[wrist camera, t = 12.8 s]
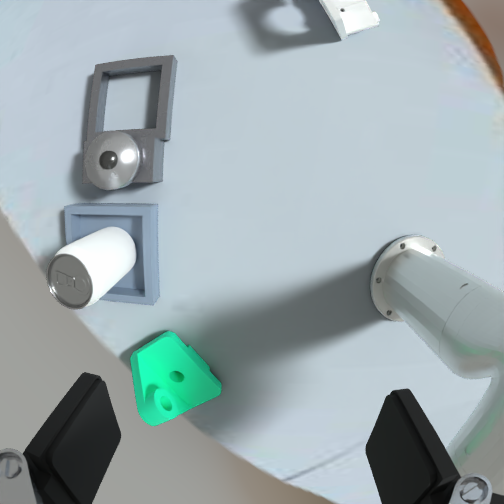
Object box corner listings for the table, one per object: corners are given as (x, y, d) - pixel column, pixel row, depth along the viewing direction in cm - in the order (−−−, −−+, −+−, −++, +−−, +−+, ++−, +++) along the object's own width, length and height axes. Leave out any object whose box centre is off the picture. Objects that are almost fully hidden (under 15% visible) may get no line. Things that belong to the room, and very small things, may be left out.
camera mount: (225, 382, 43) (220, 431, 33) (187, 400, 44) (176, 447, 34) (172, 324, 40) (153, 368, 30) (135, 348, 41) (111, 391, 31)
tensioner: (177, 61, 31) (164, 42, 25) (167, 186, 35) (152, 190, 29) (102, 69, 31) (80, 55, 24) (92, 187, 35) (67, 191, 28)
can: (135, 278, 37) (96, 320, 26) (93, 269, 37) (44, 304, 25) (140, 230, 36) (97, 256, 24) (95, 221, 35) (42, 243, 24)
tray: (157, 204, 36) (150, 206, 33) (159, 295, 39) (153, 305, 36) (75, 203, 35) (64, 206, 32) (82, 288, 38) (72, 296, 35)
